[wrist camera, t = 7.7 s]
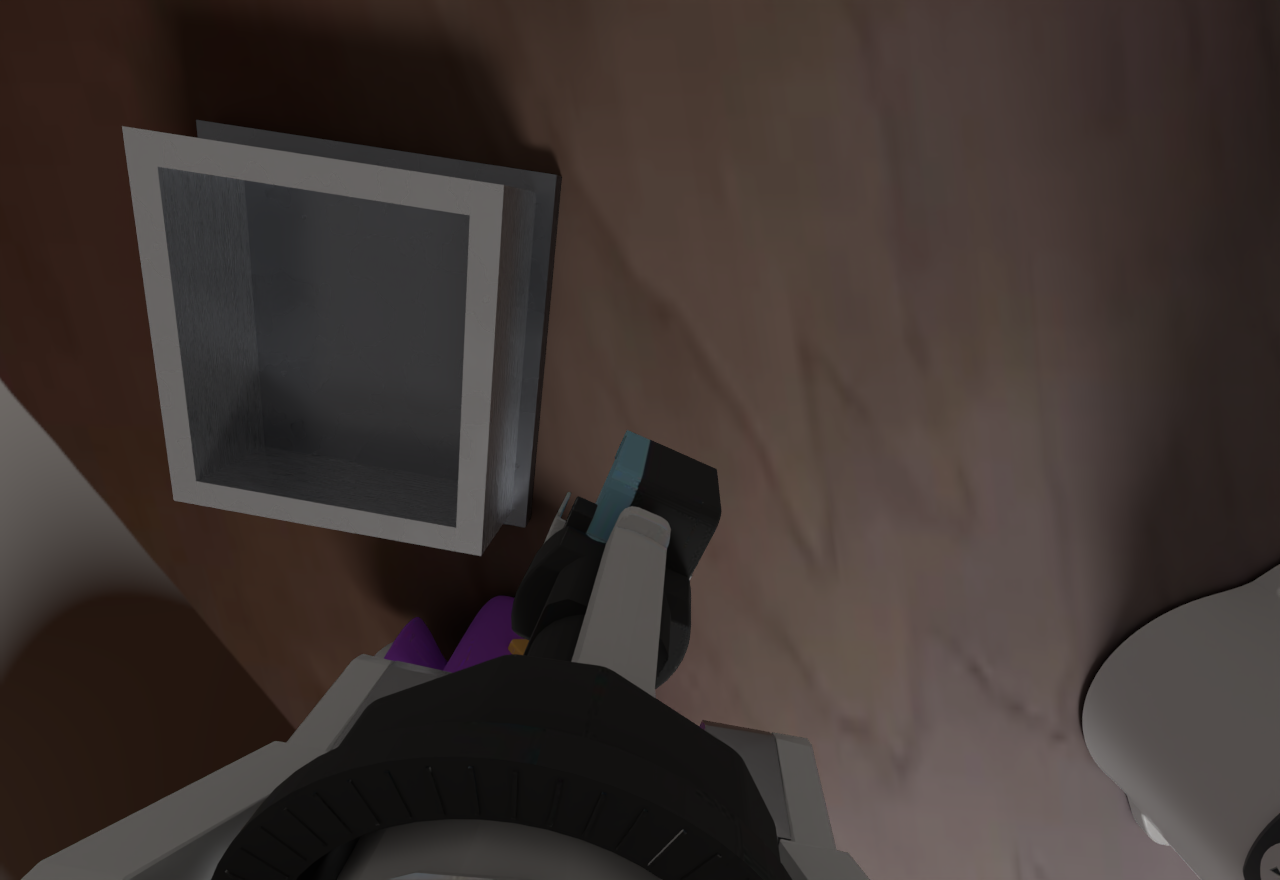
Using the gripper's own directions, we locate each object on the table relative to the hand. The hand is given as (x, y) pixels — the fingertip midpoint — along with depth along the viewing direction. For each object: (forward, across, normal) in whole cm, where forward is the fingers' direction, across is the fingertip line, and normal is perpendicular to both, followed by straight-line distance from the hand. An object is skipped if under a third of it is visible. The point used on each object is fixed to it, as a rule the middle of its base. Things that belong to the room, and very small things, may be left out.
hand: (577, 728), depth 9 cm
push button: (+6, 0, 0) cm, 6 cm away
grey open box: (+22, +14, 0) cm, 26 cm away
